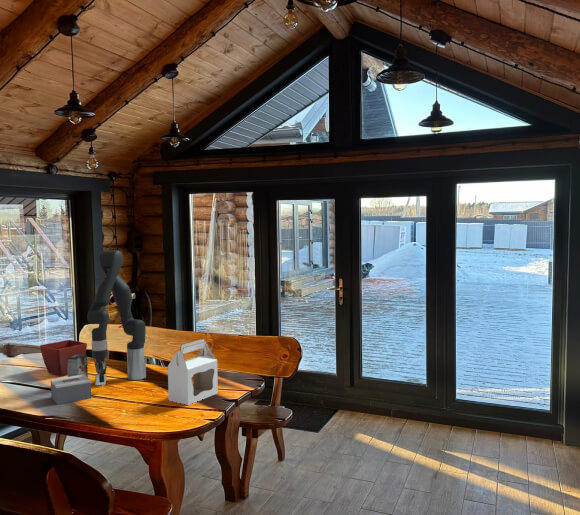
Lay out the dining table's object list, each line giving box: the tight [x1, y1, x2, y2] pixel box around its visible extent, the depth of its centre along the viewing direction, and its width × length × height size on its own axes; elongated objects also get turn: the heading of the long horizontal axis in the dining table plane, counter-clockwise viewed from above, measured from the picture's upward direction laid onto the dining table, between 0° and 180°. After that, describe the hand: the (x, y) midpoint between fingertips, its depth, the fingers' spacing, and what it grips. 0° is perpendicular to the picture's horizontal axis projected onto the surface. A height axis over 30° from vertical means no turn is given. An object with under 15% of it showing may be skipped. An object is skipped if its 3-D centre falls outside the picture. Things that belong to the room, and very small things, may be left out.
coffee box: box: [67, 354, 89, 378], centre depth 286 cm, size 9×6×16 cm
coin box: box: [50, 374, 92, 405], centre depth 266 cm, size 16×13×9 cm
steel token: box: [93, 373, 108, 386], centre depth 273 cm, size 5×2×5 cm, turn 127°
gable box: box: [167, 338, 219, 406], centre depth 266 cm, size 22×13×28 cm, turn 147°
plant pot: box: [39, 339, 88, 377], centre depth 311 cm, size 19×19×17 cm
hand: (101, 381), depth 273 cm, fingers closed on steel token, 1 cm apart
